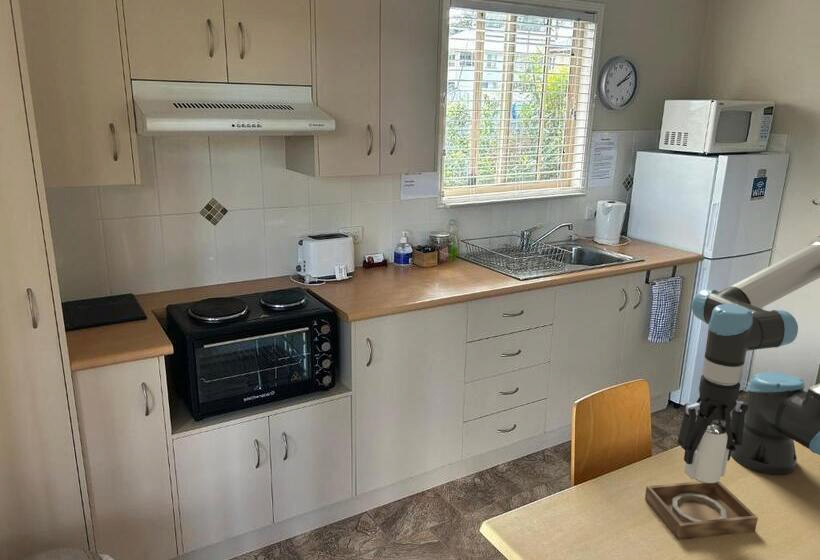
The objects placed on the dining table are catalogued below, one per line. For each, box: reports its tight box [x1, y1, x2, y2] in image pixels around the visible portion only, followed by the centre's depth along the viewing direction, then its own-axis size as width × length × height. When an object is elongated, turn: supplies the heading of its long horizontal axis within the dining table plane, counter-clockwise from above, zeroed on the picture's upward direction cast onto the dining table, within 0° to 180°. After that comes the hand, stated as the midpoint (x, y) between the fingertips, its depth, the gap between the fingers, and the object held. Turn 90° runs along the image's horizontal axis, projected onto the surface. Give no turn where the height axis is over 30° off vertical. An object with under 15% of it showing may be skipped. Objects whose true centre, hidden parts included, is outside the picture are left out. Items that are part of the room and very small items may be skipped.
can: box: [694, 421, 728, 484], centre depth 138 cm, size 6×6×12 cm
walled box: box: [644, 480, 759, 541], centre depth 142 cm, size 18×14×4 cm
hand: (704, 474), depth 140 cm, fingers closed on can, 6 cm apart
